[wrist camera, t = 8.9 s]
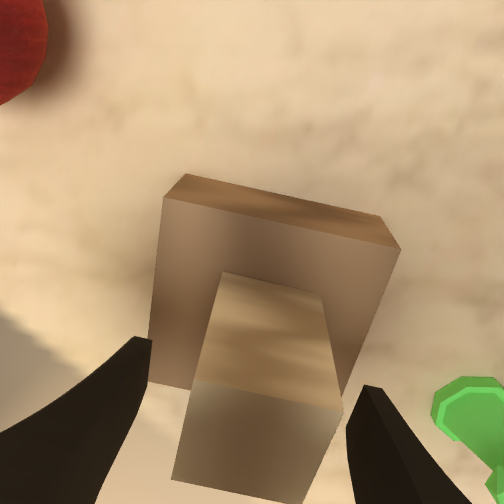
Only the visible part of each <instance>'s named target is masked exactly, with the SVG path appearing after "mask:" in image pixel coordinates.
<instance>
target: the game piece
mask: <svg viewBox="0 0 504 504" xmlns="http://www.w3.org/2000/svg"><path fill="white" fill-rule="evenodd" d="M431 416H432V418H433V420H434V423H435V425H436V426H437V427H438V428H440V429H441V430H442V431H443V432H444V433H445V434H446V435H448V436H449V437H450V438H451V439H452V440H453V441H462V442H463V443H464V444H465V445H466V446H467V447H468V448H469V449H470V450H471V451H473V452H474V453H475V454H476V455H477V456H478V457H479V458H480V459H481V460H482V461H483V462H484V463H485V464H486V465H487V466H489V467H490V468H491V469H492V470H493V473H492V474H491V476H490V477H489V478H488V480H487V481H486V483H485V485H486V487H487V488H488V490H489V492H490V493H491V495H492V496H493V498H494V499H495V501H496V503H497V504H504V388H503V387H502V386H501V385H500V384H499V383H498V382H497V381H496V380H495V379H494V378H493V377H460V378H458V379H457V380H455V381H453V382H452V383H450V384H449V385H447V386H445V387H444V388H442V389H440V390H439V391H437V392H436V393H435V397H434V402H433V407H432V412H431Z"/></svg>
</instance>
